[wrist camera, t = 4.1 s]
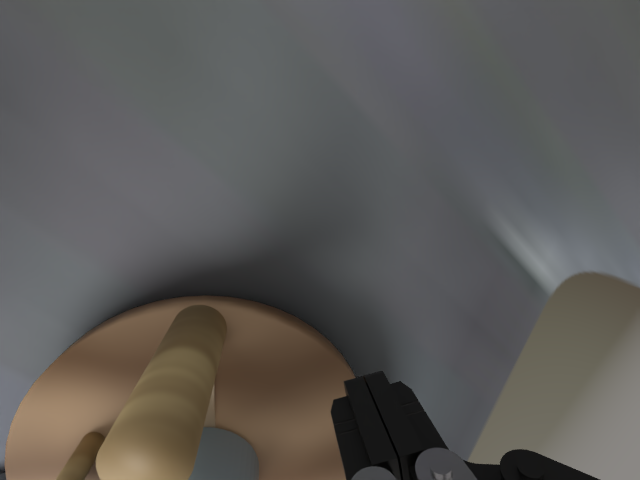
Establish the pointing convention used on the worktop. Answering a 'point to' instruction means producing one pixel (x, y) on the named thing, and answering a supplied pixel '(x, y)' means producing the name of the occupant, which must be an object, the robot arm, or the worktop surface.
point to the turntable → (183, 395)
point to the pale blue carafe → (224, 457)
